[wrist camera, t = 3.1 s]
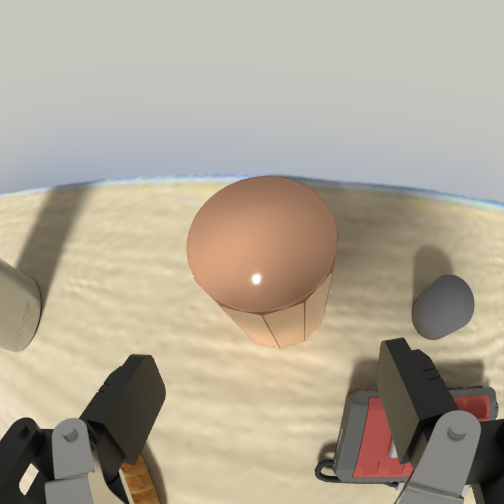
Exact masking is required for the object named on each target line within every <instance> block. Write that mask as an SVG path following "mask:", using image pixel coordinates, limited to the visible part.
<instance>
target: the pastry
mask: <svg viewBox="0 0 504 504" xmlns="http://www.w3.org/2000/svg"><path fill="white" fill-rule="evenodd" d="M120 468H121V470H122V471H123V474H124V477H125V480H126V483H127V485H128V488H129V491H130V494H131V496H132V499H133V502H134V504H160V501H159V499H158V495H157V493H156V489H155V486H154V484H153V482H152V479H151V476H150V473H149V471H148V468H147V466H146V463H145V461H144V459H143V458H142V456H141V455H139V458H138V460H137V462H136V464H135V466H134V465H130V464H126V463H122V465H121V467H120Z"/></svg>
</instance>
